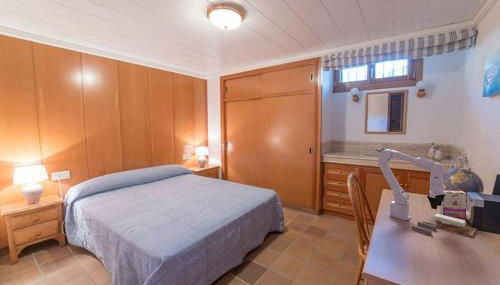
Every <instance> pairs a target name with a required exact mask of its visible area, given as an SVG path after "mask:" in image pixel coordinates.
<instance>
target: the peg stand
mask: <svg viewBox="0 0 500 285" xmlns="http://www.w3.org/2000/svg"><path fill="white" fill-rule="evenodd" d="M422 222H423V223H426V224H430V225H434V226H436V229H441V230H445V231H448V232H452V233H456V234H458V235H463V236H466V237H470V238H473V237H474V235H476V233H477V231H478V228H476V227H472V226H468V225H465V226H464V227H462V226H458V225H454V224H451V223H447V222H443V221H439V220H435V219H434V216H428V217H427V218H426V219H424V220H422Z"/></svg>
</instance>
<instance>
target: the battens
mask: <svg viewBox="0 0 500 285" xmlns="http://www.w3.org/2000/svg"><path fill="white" fill-rule="evenodd" d="M416 224H417V225H414V224H412V226H411V227H412V228H411V230H412V231H415V232H420V233H423V234H425V235H428V236H431V235H432V231H437V227H436V226H434V225H430V224H426V223H423V221H417V223H416Z"/></svg>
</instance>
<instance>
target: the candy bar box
mask: <svg viewBox="0 0 500 285" xmlns="http://www.w3.org/2000/svg"><path fill="white" fill-rule="evenodd" d="M443 192H444V193H446V195H445V197H444V198H443V201H442V204H441V206H439V214H441V215H445V216H449V217H453V218H457V219H461V220H465V221H466V207H467V201H468V198H467V197H468V196H467V195H468V194H467V193H466V192H465V191H463V190H448V189H447V190H445V189H443ZM467 208H468V207H467Z"/></svg>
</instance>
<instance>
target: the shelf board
mask: <svg viewBox="0 0 500 285" xmlns="http://www.w3.org/2000/svg"><path fill="white" fill-rule="evenodd" d="M433 218H434V219H435V220H439V221H443V222H447V223H451V224H454V225H458V226H462V227H464V226H466V224H467V221H466V220H464V219H457V218H453V217H449V216H445V215H441V214H440V213H436V214H434V216H433Z"/></svg>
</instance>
